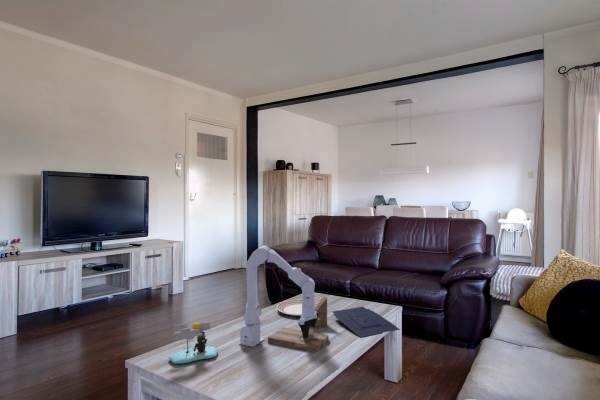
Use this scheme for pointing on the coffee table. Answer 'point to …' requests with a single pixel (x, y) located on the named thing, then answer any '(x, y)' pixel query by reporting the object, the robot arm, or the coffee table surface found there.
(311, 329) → the beige cylinder
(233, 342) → the coffee table surface
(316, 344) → the board
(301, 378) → the coffee table surface
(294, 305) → the dinner plate
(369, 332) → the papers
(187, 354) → the penguin figurine
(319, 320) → the wooden block
